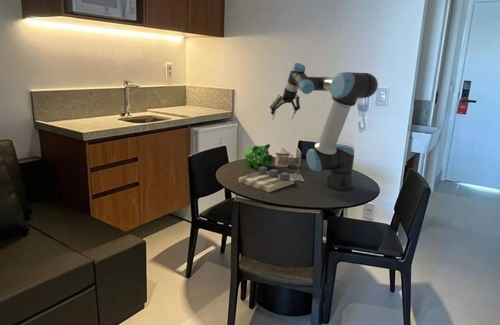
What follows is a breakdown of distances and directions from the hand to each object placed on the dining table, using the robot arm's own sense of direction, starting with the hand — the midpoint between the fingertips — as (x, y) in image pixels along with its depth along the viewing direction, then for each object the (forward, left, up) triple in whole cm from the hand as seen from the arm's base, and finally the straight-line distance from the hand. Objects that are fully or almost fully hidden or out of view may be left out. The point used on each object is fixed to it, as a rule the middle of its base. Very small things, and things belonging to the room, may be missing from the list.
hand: (281, 118), depth 231 cm
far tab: (-9, +26, -29) cm, 40 cm away
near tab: (-25, +26, -29) cm, 46 cm away
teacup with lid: (-1, -5, -32) cm, 32 cm away
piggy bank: (+8, +11, -32) cm, 35 cm away
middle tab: (-17, +26, -29) cm, 42 cm away
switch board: (-17, +32, -31) cm, 48 cm away
